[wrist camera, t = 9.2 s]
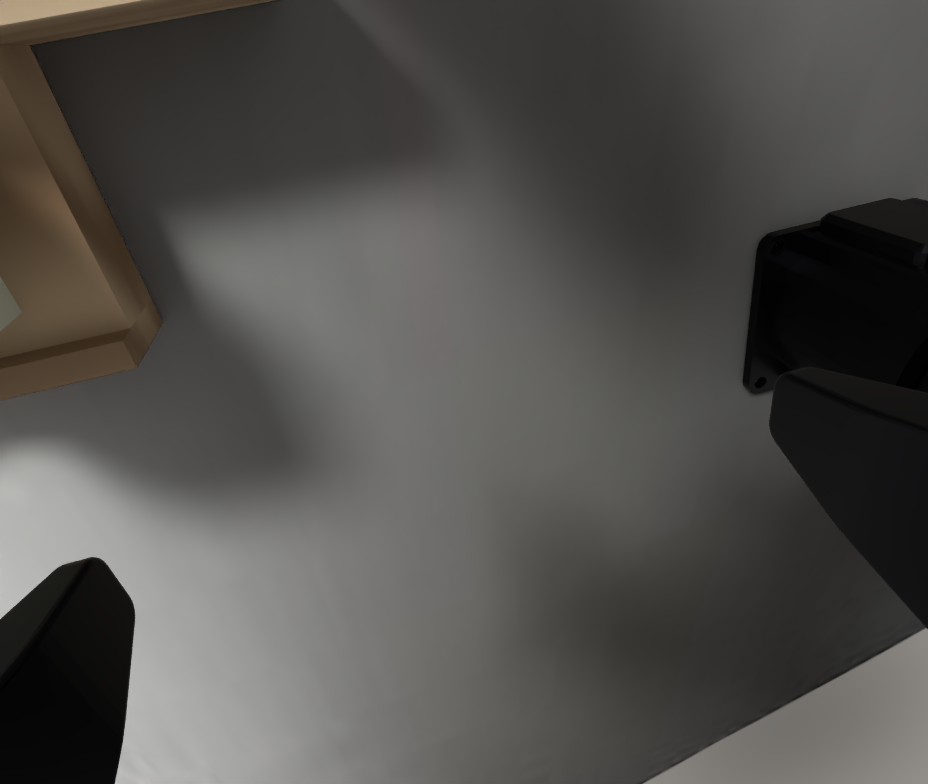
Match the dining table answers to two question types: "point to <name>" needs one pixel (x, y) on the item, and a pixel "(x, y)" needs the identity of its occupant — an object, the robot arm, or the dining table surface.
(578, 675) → the dining table surface
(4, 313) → the block
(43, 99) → the light brown t-shaped piece
